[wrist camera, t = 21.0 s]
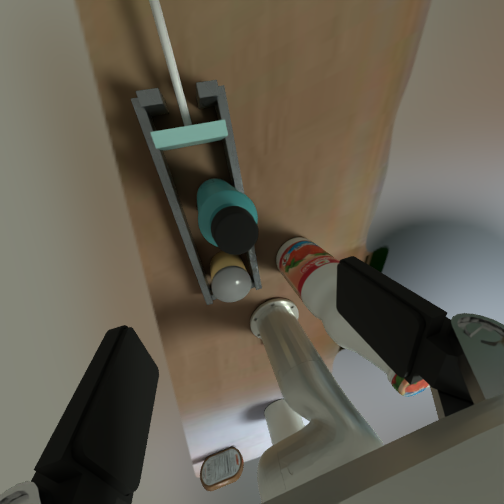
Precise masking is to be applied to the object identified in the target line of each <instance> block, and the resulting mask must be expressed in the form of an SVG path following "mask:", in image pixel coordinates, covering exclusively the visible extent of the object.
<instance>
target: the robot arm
mask: <svg viewBox="0 0 504 504" xmlns="http://www.w3.org/2000/svg"><path fill="white" fill-rule="evenodd" d="M336 308H337V311H338V313H339V314H340V315H341V316H342V317H343V318H344V319H345V320H346V321H347V322H348V323H349V325H350V326H351V327H352V328H353V329H354V330H355V331H356V332H357V333H358V334H359V335H360V336H361V337H362V338H363V339H364V341H365V342H366V343H367V344H368V345H369V346H370V347H371V348H372V349H373V350H374V351H375V352H376V353H377V354H378V355H379V357H380V358H381V359H382V360H383V361H384V362H385V363H386V364H387V365H388V366H389V367H390V368H391V369H392V370H393V371H394V373H395V374H396V375H398V376H399V377H401V378H404V379H405V380H406V381H407V382H408V383H409V384H410V385H412V384H414V383H417V382H419V381H421V380H423V379H424V380H425V381H426V382H427V383H428V384H429V385H430V388H431V392H432V395H433V399H434V403H435V407H436V411H437V414H438V418H439V420H438V421H436V422H433V423H431V424H429V425H427V426H425V427H423V428H421V429H418V430H416V431H414V432H412V433H410V434H408V435H406V436H403V437H401V438H399V439H397V440H395V441H393V442H391V443H389V444H386V445H384V444H383V442H382V441H381V439H380V438H379V436H378V435H377V434H376V433H375V431H374V430H373V429H372V428H371V426H370V425H369V424H368V423H367V421H366V420H365V419H364V418H363V416H362V415H361V414H360V413H359V411H357V409H356V408H355V407H354V405H353V404H352V403H351V401H350V400H349V399H348V397H347V396H346V395H345V393H344V392H343V390H342V389H341V388H340V386H339V385H338V383H337V382H336V380H335V379H334V377H333V376H332V374H331V372H330V371H329V369H328V368H327V366H326V365H325V363H324V361H323V360H322V358H321V357H320V355H319V354H318V352H317V350H316V349H315V347H314V346H313V344H312V342H311V341H310V339H309V338H308V336H307V335H306V333H305V331H304V330H303V328H302V327H301V325H300V323H299V322H298V316H299V312H298V309H297V307H296V305H295V304H294V303H293V302H292V301H290V300H288V299H284V298H277V299H272V300H269V301H267V302H265V303H263V304H262V305H260V306H259V307H258V308H257V309H256V310H255V311H254V313H253V314H252V317H251V319H250V327H251V330H252V332H253V334H254V335H255V336H257V337H258V338H261V339H262V341H263V344H264V347H265V350H266V352H267V355H268V358H269V360H270V363H271V366H272V369H273V371H274V374H275V377H276V379H277V382H278V385H279V388H280V390H281V393H282V396H283V398H284V400H285V401H286V403H287V404H288V406H289V407H290V408H291V409H292V410H293V411H295V412H296V413H297V414H299V415H300V416H302V417H304V418H305V419H307V420H309V421H310V423H309V424H308V425H306V426H305V427H303V428H302V429H301V430H299V431H297V432H295V433H294V434H292V435H290V436H288V437H286V438H285V439H283V440H281V441H279V442H278V443H276V444H275V445H273V446H271V447H270V448H268V449H267V450H266V451H265V452H264V453H263V454H262V456H261V458H260V460H259V463H258V470H257V471H258V472H257V476H258V477H257V478H258V487H259V492H260V497H261V502H262V503H261V504H504V325H503V324H501V323H499V322H497V321H495V320H493V319H490V318H487V317H484V316H481V315H476V314H467V313H463V314H457V315H455V316H453V317H452V319H451V320H450V319H448V318H447V317H446V315H447V312H446V311H444V310H442V309H441V308H439V307H437V306H435V305H434V304H432V303H431V302H429V301H427V300H426V299H424V298H422V297H420V296H419V295H417V294H416V293H414V292H412V291H411V290H409V289H407V288H406V287H404V286H402V285H401V284H399V283H397V282H396V281H394V280H392V279H391V278H389V277H387V276H386V275H384V274H382V273H381V272H379V271H377V270H376V269H374V268H373V267H371V266H369V265H368V264H366V263H364V262H363V261H361V260H359V259H358V258H356V257H354V256H351V257H348V258H345V259H342V260H340V262H339V264H338V265H337V289H336ZM158 378H159V370H158V367H157V365H156V364H155V362H154V361H153V359H152V358H151V356H150V354H149V353H148V352H147V350H146V348H145V346H144V345H143V343H142V342H141V340H140V339H139V337H138V335H137V334H136V332H135V331H134V330H133V328H132V327H129V328H128V327H127V326H125V325H124V326H120V327H117V328H114V329H111V330H108V331H107V333H106V334H105V336H104V338H103V340H102V342H101V344H100V346H99V348H98V350H97V351H96V353H95V355H94V357H93V359H92V361H91V363H90V365H89V367H88V368H87V370H86V372H85V374H84V376H83V378H82V380H81V382H80V384H79V385H78V387H77V389H76V391H75V393H74V395H73V397H72V399H71V400H70V402H69V404H68V406H67V408H66V410H65V412H64V414H63V416H62V418H61V419H60V421H59V423H58V425H57V427H56V429H55V431H54V433H53V434H52V436H51V438H50V440H49V442H48V444H47V446H46V448H45V449H44V451H43V453H42V455H41V457H40V459H39V461H38V463H37V465H36V466H35V469H34V470H35V471H36V473H35V474H34V477H33V478H32V480H31V482H30V481H25V482H22V483H19V484H16V485H15V486H13V487H11V488H10V489H8V490H6V491H5V492H4V493H2V494H1V495H0V504H131V503H132V498H133V492H134V491H136V490H137V488H138V486H139V483H140V479H141V473H142V467H143V461H144V456H145V450H146V445H147V439H148V433H149V428H150V422H151V416H152V411H153V406H154V400H155V394H156V388H157V383H158Z"/></svg>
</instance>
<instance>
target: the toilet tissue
mask: <svg viewBox="0 0 504 504" xmlns="http://www.w3.org/2000/svg"><path fill="white" fill-rule="evenodd" d="M264 415H265V419H266V422H267V426H268V430H269V433H270V437H271V441H272V444H273V445H275V444H276V443H278V442H279V441H281V440H283V439H285V438H286V437H288V436H290V435H292V434H294V433H295V432H297V431H299V430H301V429H302V428H303V427H305V425H304V423H303V420H302V418H301V416H300V415H299V414H297V413H296V412H295V411H293V410H292V409H291V408H290V407H289V406H288V404H287V403H286V401H285V400H284V399H281V400H278V401H275V402H273V403H272V404H270V405H269V406H268V407H267V408H266V409H265V412H264Z"/></svg>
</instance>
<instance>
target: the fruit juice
mask: <svg viewBox="0 0 504 504" xmlns="http://www.w3.org/2000/svg"><path fill="white" fill-rule="evenodd" d="M339 262H340V261H338V260H337V259H336V258H334V257H333V256H331V255H330V254H329V253H327V252H326V251H324V250H323V249H322V248H320V247H319V246H318V245H316V244H315V243H313V242H312V241H310V240H308V239H306V238H302V237H297V238H293V239H290V240H288V241H287V242H285V243H284V244H283V245H282V246H281V248H280V249H279V251H278V253H277V257H276V263H277V267H278V269H279V271H280V272H281V274H282V275H283V276H284V278H285V279H286V280H287V282H288V283H289V284H290V286H291V287H292V288H293V290H294V291H295V292H296V294H297V295H298V296H299V298H300V299H301V300H302V302H303V303H304V305H305V306H306V307H307V308H308V310H309V311H310V312H311V313H312V314H313V315H314V316H315V317H317V318H318V319H320V320H322V323H323V325H324V328H325V330H326V332H327V333H328V335H329V336H330V337H331V338H332V340H333V341H334V342H336V343H337V344H338V345H340V346H341V347H343V348H346V349H349V350H352V351H354V352H356V353H358V354H359V355H361V356H363V357H364V358H365V359H367V360H368V361H370V362H371V363H373V364H374V365H375V366H377V367H378V368H380V369H381V370H382V371H384V372H385V373H386V374H387V376H388V380H389V382H390V383H391V384H392V386H393V387H394V388H395V389H396V390H397V391H398V392H399V393H400V394H401V395H403V396H405V397H409V396H413V395H416V394H418V393H420V392H422V391H424V390H425V389H426V388H428V387H429V386H430V385H429V384H428V383H427V382H426V381H425V380H424V379H423V380H421V381H419V382H417V383H414V384H412V385H410V384H409V383H408V382H407V381H406V380H405V379H404V378H401V377H399V376H398V375H396V374H395V373H394V371H393V370H392V369H391V368H390V367H389V366H388V365H387V364H386V363H385V362H384V361H383V360H382V359H381V358H380V357H379V355H378V354H377V353H376V352H375V351H374V350H373V349H372V348H371V347H370V346H369V345H368V344H367V343H366V342H365V341H364V339H363V338H362V337H361V336H360V335H359V334H358V333H357V332H356V331H355V330H354V329H353V328H352V327H351V326H350V325H349V323H348V322H347V321H346V320H345V319H344V318H343V317H342V316H341V315H340V314H339V313H338V311H337V308H336V289H337V265H338V264H339Z"/></svg>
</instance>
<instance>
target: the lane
mask: <svg viewBox="0 0 504 504" xmlns="http://www.w3.org/2000/svg"><path fill="white" fill-rule="evenodd" d="M136 94H137V96H138V98H132V99H131V101H132V104H133V107H134V109H135V112H136V115H137V117H138V120H139V123H140V125H141V128H142V131H143V134H144V136H145V139H146V142H147V144H148V147H149V150H150V152H151V155H152V158H153V161H154V163H155V166H156V169H157V171H158V174H159V177H160V179H161V182H162V185H163V188H164V190H165V193H166V196H167V198H168V201H169V204H170V206H171V209H172V212H173V215H174V217H175V220H176V223H177V225H178V228H179V231H180V233H181V236H182V239H183V242H184V244H185V247H186V250H187V252H188V255H189V258H190V260H191V263H192V266H193V269H194V271H195V274H196V277H197V279H198V282H199V285H200V287H201V290H202V293H203V296H204V298H205V301H206V304H207V305H209V304H212V303H213V300H215V299H217V298H216V297H215V296H214V294H213V292H212V288H210V286H209V283H208V280H207V277H206V274H205V272H204V269H203V266H202V263H201V260H200V257H199V254H198V251H197V248H196V245H195V242H194V239H193V236H192V234H191V231H190V228H189V225H188V222H187V219H186V216H185V213H184V210H183V207H182V204H181V201H180V198H179V196H178V193H177V190H176V187H175V184H174V181H173V178H172V175H171V172H170V169H169V166H168V163H167V160H166V158H165V155H164V152H163V150H160V149H156V147H155V144H154V141H153V139H152V136H151V133H150V132H154V131H156V128H155V125H154V122H153V120H152V117H151V116H157V115H164V114H169V112H168V109H167V105H166V102H165V100H164V98H163V96H162V94H161V92H160V90H159V88H154V89H147V90H140V91H136ZM196 100H197V104H198V108H199V109H202V108H208V107H214V106H215V108H216V113H217V117H218V121H219V120H225V122H226V127H227V132H228V136H226V137H225V138H223V139H222V141H223V146H224V150H225V155H226V160H227V165H228V169H229V174H230V179H231V184H232V185H234V186H233V187H234V188H236V189H237V190H238V191H239V192H241V193H243V194H244V190H243V184H242V179H241V174H240V168H239V163H238V157H237V152H236V147H235V141H234V136H233V131H232V125H231V120H230V114H229V109H228V104H227V98H226V93H225V88H224V85H223V86H218V84H217V80H212V81H205V82H198V83H196ZM246 255H247V259H248V264H249V269H250V274H251V276H250V278H251V288H254V287H255V288H256V290H258V289H261V288H262V286H261V281H260V276H259V270H258V265H257V260H256V254H255V249H254V246H253V247H252V248H251V249H250V250H249V251H247V252H246Z"/></svg>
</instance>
